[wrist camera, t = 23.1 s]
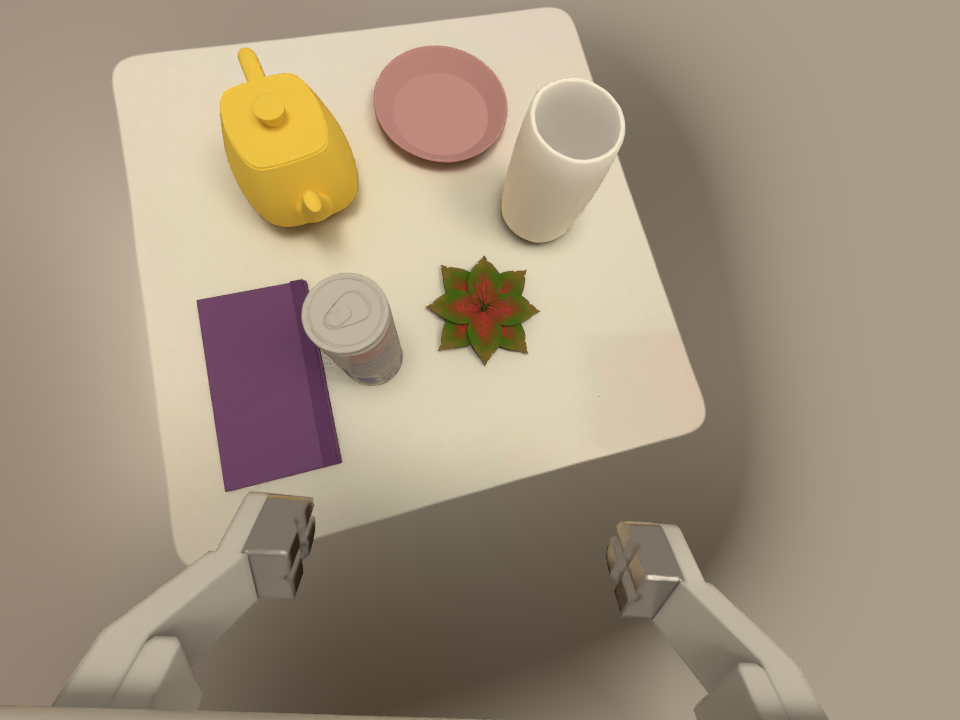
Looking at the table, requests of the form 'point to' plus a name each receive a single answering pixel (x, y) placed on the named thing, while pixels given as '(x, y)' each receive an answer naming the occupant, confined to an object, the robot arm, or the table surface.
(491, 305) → the lily flower
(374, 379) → the beverage can
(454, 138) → the plate
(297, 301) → the purple closed book
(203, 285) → the table surface
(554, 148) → the cup
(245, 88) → the teapot
